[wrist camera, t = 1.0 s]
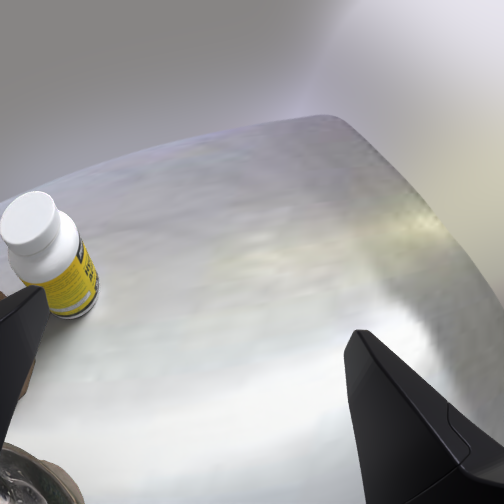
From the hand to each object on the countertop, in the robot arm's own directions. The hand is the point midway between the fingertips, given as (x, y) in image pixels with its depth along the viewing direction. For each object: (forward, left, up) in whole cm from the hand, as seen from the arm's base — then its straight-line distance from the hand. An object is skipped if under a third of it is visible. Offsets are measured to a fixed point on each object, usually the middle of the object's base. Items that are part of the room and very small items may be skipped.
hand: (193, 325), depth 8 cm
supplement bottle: (-2, +13, -15) cm, 20 cm away
